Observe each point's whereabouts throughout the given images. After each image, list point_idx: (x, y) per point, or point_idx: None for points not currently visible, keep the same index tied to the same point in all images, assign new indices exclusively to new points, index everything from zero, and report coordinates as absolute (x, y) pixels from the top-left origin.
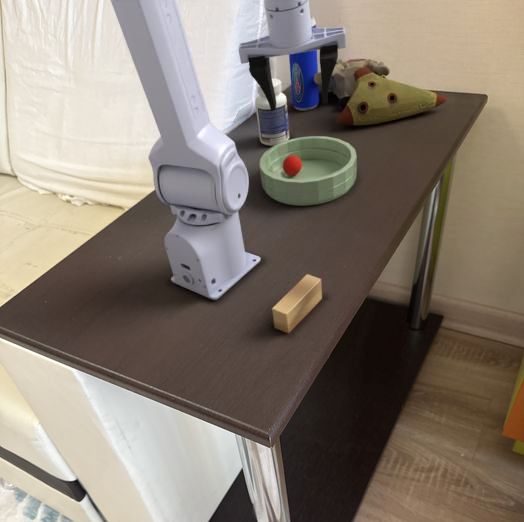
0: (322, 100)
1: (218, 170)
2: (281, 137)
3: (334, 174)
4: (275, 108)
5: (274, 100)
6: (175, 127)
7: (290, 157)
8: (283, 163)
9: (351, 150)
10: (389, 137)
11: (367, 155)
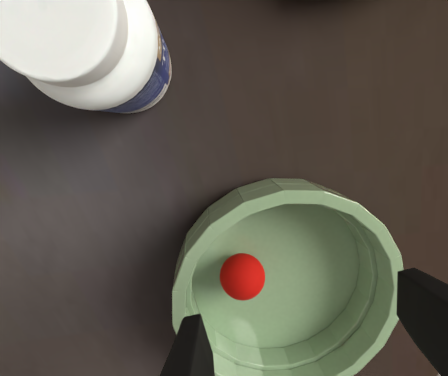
0: (408, 332)
1: None
2: (158, 99)
3: (363, 363)
4: (212, 356)
5: (209, 373)
6: None
7: (244, 293)
8: (225, 291)
9: (393, 262)
10: (439, 43)
11: (387, 146)
